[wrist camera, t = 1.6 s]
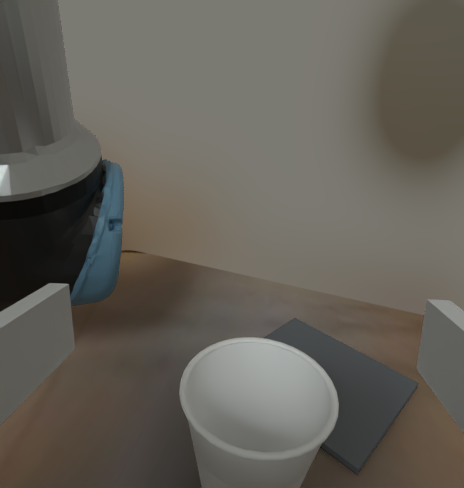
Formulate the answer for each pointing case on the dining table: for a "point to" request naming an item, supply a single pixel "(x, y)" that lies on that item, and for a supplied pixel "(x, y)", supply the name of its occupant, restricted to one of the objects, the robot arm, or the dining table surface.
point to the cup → (256, 413)
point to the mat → (352, 392)
